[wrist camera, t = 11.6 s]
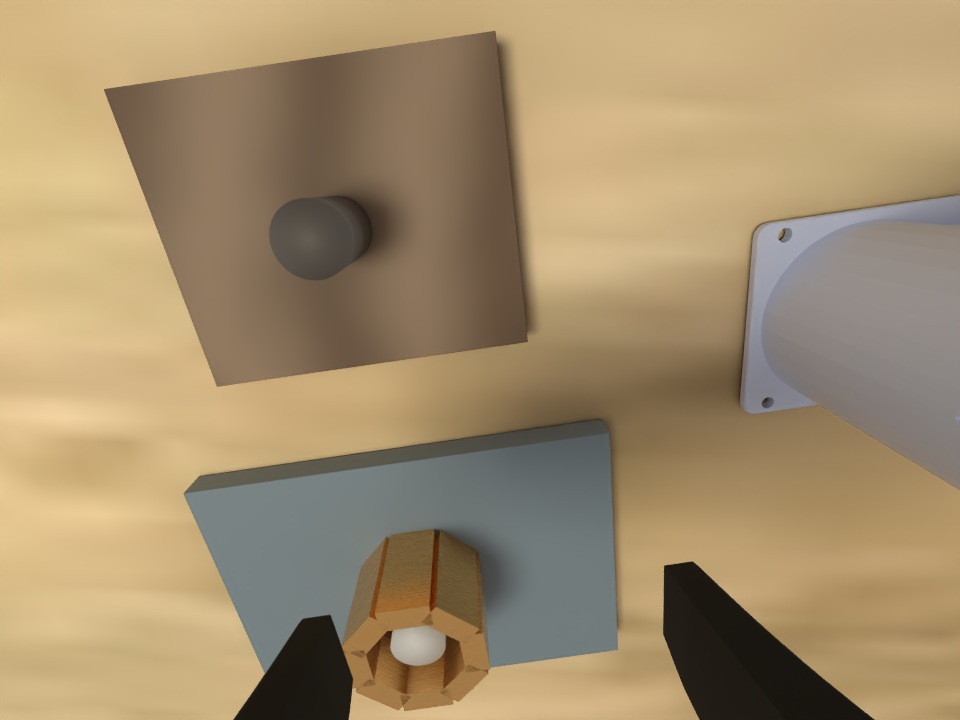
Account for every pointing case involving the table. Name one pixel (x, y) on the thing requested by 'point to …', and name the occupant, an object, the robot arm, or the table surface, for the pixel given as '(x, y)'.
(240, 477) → the board
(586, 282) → the table surface
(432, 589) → the collar
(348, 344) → the stand
